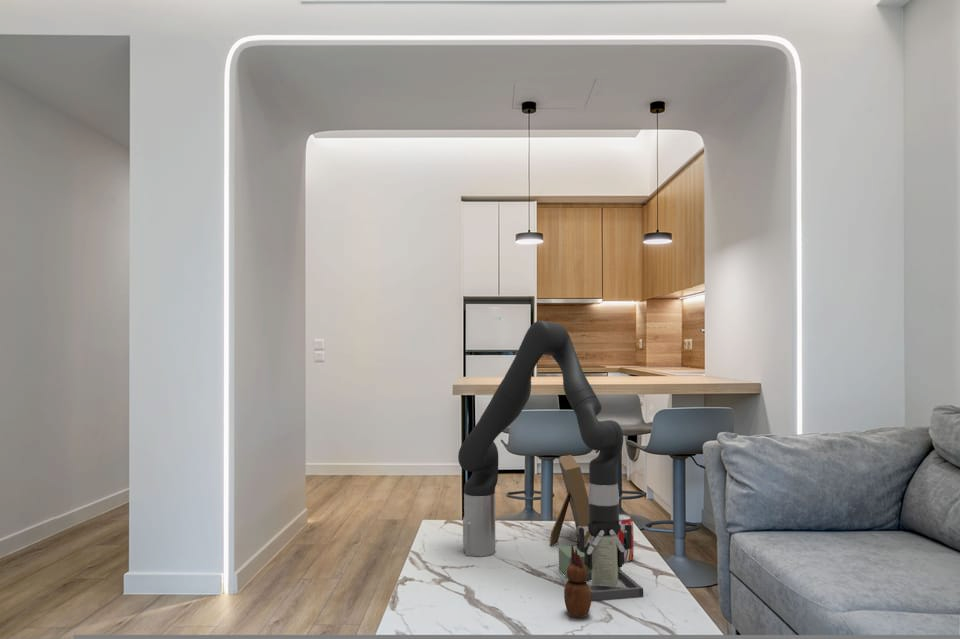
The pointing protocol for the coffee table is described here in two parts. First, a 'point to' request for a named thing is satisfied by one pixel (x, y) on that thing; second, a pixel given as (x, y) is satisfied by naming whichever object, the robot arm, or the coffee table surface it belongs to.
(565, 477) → the photo frame
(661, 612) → the coffee table surface
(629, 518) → the soda can
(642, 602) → the coffee table surface
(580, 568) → the wooden figurine
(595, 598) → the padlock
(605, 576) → the skincare box
